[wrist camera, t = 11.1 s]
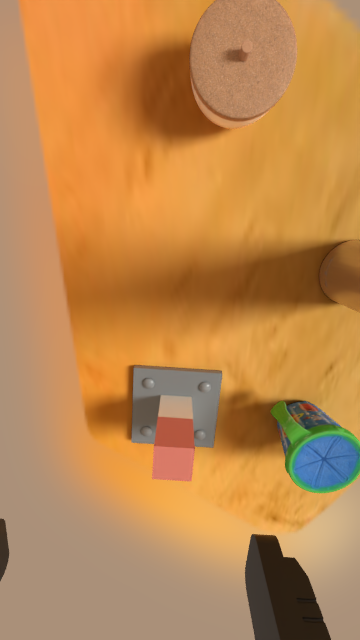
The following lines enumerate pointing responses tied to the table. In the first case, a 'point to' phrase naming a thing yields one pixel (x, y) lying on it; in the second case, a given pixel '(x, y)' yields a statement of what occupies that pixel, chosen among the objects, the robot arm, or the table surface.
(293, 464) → the snack cup
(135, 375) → the base plate
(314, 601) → the robot arm
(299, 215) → the table surface
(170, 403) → the cream brick
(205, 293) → the table surface
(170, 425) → the red brick
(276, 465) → the table surface
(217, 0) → the lidded jar
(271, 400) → the table surface
